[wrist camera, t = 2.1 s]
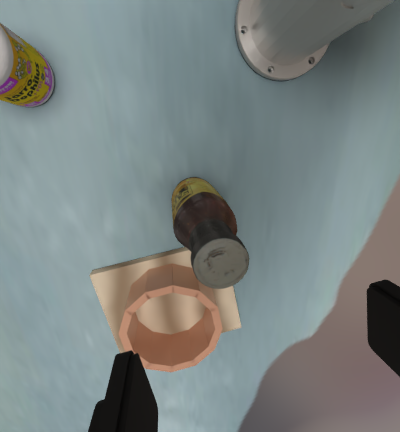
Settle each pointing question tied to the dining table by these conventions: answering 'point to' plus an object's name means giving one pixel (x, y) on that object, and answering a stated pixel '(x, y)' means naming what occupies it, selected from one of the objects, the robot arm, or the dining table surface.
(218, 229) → the sauce bottle
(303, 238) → the dining table surface
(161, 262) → the birch board
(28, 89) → the supplement bottle
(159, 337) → the jar collar
